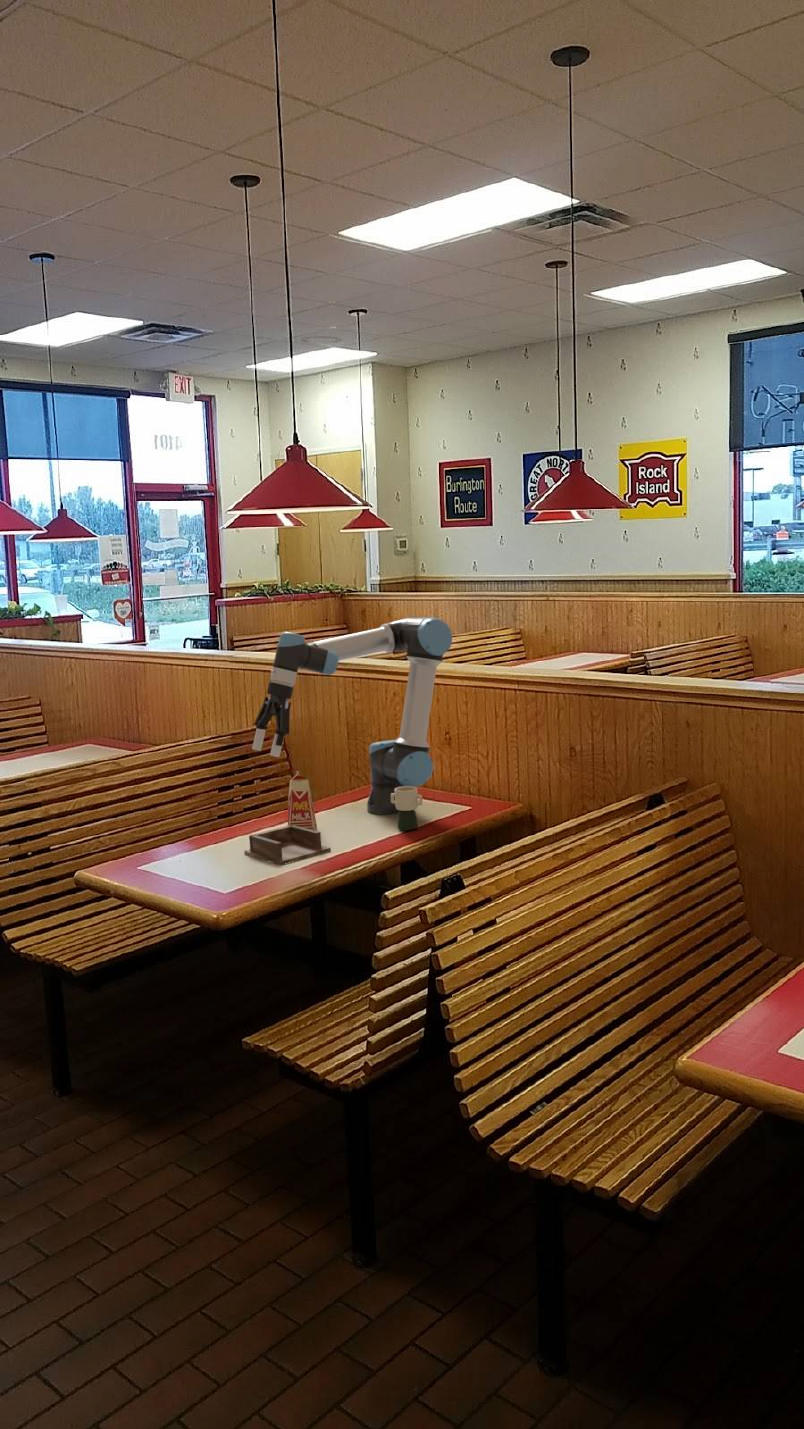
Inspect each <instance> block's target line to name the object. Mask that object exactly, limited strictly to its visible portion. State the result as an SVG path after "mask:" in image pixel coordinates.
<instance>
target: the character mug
mask: <svg viewBox="0 0 804 1429" xmlns="http://www.w3.org/2000/svg"><path fill="white" fill-rule="evenodd" d="M394 796H395V801H394ZM391 803H393V804H395V806H396V809H397V810H400V812H399V813H398V817H397V818H398V819H397V829H398V830H400V831H408V830H411V831H413V830H414V829H417V828H418V827H419V824H418V818H417V812H416V811H415V810H417V809H418V807H419V806H420V807H421V806H423V795H421V794H419V793H418V786H417V787H414V786H402V787H398V788H395V793H391Z"/></svg>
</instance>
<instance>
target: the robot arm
mask: <svg viewBox="0 0 804 1429" xmlns="http://www.w3.org/2000/svg"><path fill="white" fill-rule="evenodd" d="M452 642H453V634H452V630H451V628H450V627H449V625H448V624H447V623H446V622H445V621H443V620H442V619H439V618H436V617H433V616H432V617H431V616H430V617H429V616H428V617H427V616H426V617H425V616H423V617H421V616H409V617H405V618H401V619H398V620H393V621H391V622H386V623H382V624H380V626H379V627H377V628H372V629H368V630H365V631H359V632H354V633H351V634H345V635H339V636H337V637H336V636H335V637H331V638H327V639H322V640H318V641H313V642H307V643H306V637H305V636H304V635H301V634H298V633H294V632H289V631H283V632H282V633H281V634H280V636H279V640H278V641H277V644H276V651H275V655H274V661H273V665H272V669H271V670H270V673H271V674H270V678H269V679H270V681H269V683H268V686H267V690H266V694H267V695H270V697H268V696H265V697H264V699H263V703H262V705H261V706H260V707H261V708H260V710H259V712H258V714H257V717H256V718H255V720H254V722H253V724H254V726H255V727H256V730H255V734H254V739H253V743H252V747H251V750H254V751H259V752H262V748H263V743H264V739H265V734H266V730H267V726H268V724H269V723H270V721H271V720H272V718H273V717H275V727H276V730H275V731H274V737H273V741H272V744H271V748H270V754H269V756H271V757H276V758H280V756H281V751H282V748H283V744H284V739H285V736H287V735H289V734H290V720H291V719H290V716H291V715H290V714H291V713H290V712H291V707H292V706H291V705H292V702H290V701H287V699H288V700H291V699H292V696H293V692H294V687H293V686H294V685H295V684H296V680H297V676H298V672H299V670H301V671H309V672H314V673H319V674H321V675H328V676H331V675H333V674H334V673H335V672H336V671H337V668H338V665H339V661H344V660H347V659H348V660H349V659H353V658H358V657H362V656H367V655H371V654H375V653H380V652H386V653H388V654H390V653H395V652H406V659H407V660H408V661H409V670H408V678H407V684H406V690H405V696H404V697H405V699H404V703H403V711H402V717H401V725H400V731H399V736H398V737H397V738H396V739H392V740H381V741H377V742H373V743H371V744H370V745H369V748H368V751H369V752H368V756H369V771H370V784H371V785H370V791H369V795H368V798H367V802H366V803H367V804H366V806H367V807H366V810H367V812H368V813H371V814H376V815H393V814H394V815H395V814H399V812H400V810H397V809H396V806H395V804H393V803H391V793H395V788H398V787H402V786H414V787H417V788H418V787H420V786H422V785H424V784H425V783H426V782H428V780H430V778H431V776H432V775H433V772H434V761H433V759H432V757H431V756H430V749H431V748H430V744H429V743H428V742H427V734H428V729H429V723H430V722H429V721H430V715H431V708H432V702H433V694H434V689H435V687H434V686H435V680H436V674H437V667H438V666H439V665H441V664H442V663H443V660H444V655H445V654H446V653H447V652H448V651H449V650H450V648H451V647H452ZM394 801H395V796H394Z"/></svg>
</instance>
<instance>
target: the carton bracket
mask: <svg viewBox="0 0 804 1429" xmlns="http://www.w3.org/2000/svg"><path fill="white" fill-rule="evenodd" d="M321 834H322V833H321V832H320V831H318V830H317V831H314V830H310V829H306V828H303V827H299V826H295V825H289V826H288V825H285V826H281V827H277V828H273V829H269V830H267V831H262V832H258V833H254V834H251V835H250V834H249V836H248V839H249V849H246V850H244V851H243V852H244V855H246V856H249V855H250V856H249V857H252V856H253V858H255V859H259V860H262V861H265V862H268V861H271V862H273V863H272V864H274V865H278V866H283V865H285V863H287V864H290V863H293V862H292V861H294V862H296V861H300V860H304V859H308V858H310V857H311V856H312V857H315V856H318V854H319V855H322V854H325V853H328V852H329V853H330V852H331V850H332V849H331V847H328V846H325V845H322V837H321V836H322V835H321ZM271 862H270V863H271ZM289 862H290V863H289Z"/></svg>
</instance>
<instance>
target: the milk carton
mask: <svg viewBox="0 0 804 1429" xmlns="http://www.w3.org/2000/svg"><path fill="white" fill-rule="evenodd" d="M295 773H296V774H295V776H293V777H292V778H291V780H289V787H288V789H289V790H288V797H287V798H288V800H287V801H288V802H287V804H288V805H287V826H289V825H295V826H299V827H303V828H306V829H310V830H314V831H318V825H317V819H316V813H315V807H314V803H313V799H312V798H313V797H312V791H311V788H310V783H309V779H308V778H307V777H304V776H302V775H300V774H299V773H300V771H299V770H297V771H296V772H295Z"/></svg>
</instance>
